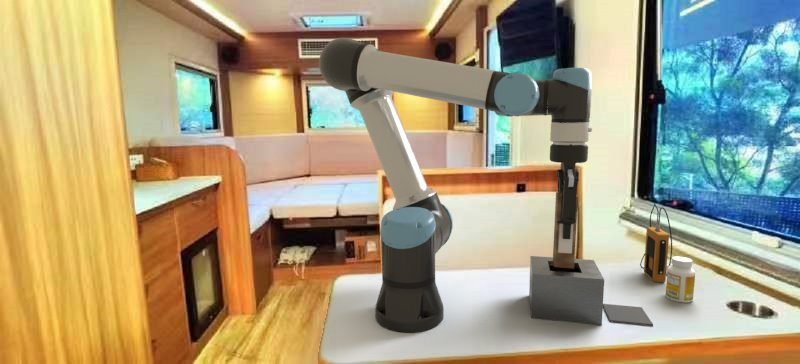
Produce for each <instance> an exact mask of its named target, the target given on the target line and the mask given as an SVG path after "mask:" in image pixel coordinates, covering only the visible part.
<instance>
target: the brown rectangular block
mask: <svg viewBox="0 0 800 364" xmlns="http://www.w3.org/2000/svg"><path fill="white" fill-rule="evenodd" d="M561 198H562V195H561V193H560V192H558V191H555V204H554V205H555V208H554V226H553V227H554V230H553V247H552V250H553V252H552V257H553V264H554V267H560V268H573V269H574V260H575V259H576V258H575V256H576V240H577V221H578V220H577V219H578V202H579V200H578V199H579V196H578V195H577V198H576V214H575V219H576V222H575V223H574V224H573V242H572V253H558V244H559V224H557V221H560V220H561Z"/></svg>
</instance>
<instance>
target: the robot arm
mask: <svg viewBox="0 0 800 364" xmlns="http://www.w3.org/2000/svg"><path fill="white" fill-rule="evenodd" d="M320 52H321V53H320V55H319V57H318V58H319V60H318V61H319V62H318V66H319V67H318V68H319V71H320V74H321V77H322V78H323V80H324V81H325V82H326V83H327V84H328V85H329V86H330V87H332V88H334V89H335V90H338V91H342V92H345V95H346V97H347V100H348V102H349V104H350V107H351V108H353V109H355V110H357V111H359V113H360V115H361V117H362V120H363V122H364V126H365V128H366V130H367V133H368V135H369V137H370V140H371V142H372V145H373V147H374V150H375V152H376V155H377V157H378V159H379V162H380V165H381V167H382V169H383V172H384V174H385V177H386V179H387V182H388V185H389V187H390V189H391V192H392V194H393V196H394V199H395V202H394V204H393V207H392V209H391V210H390V211H388V212H387V213H385V215H383V217H382V219H381V221H380V231H379V235H380V247H381V248H380V249H381V253H380V255H381V272H382V273H381V274H382V275H381V277H382V281H381V282H382V284H381V287H380V290H379V293H378V297H377V301H376V304H375V308H374V310H375V313H374V314H375V316H374V317H375V320H376V322H377V323H378V324H379V325H380V326H381V327H383V328H385V329H387V330H391V331H393V332H401V333H419V332H423V331H427V330H430V329H433V328H436V327H437V326H438V325H440V324H441V323H442V322H443V319H444V317H445V316H444V304H443V300H442V298H441V296H440V293H439V290H438V286H437V284H436V254H437V253H438V252H439V251H440V250H441V248H442V247H443V246H444V245H446V243H447V242H448V241H449V240H450V237H451V234H452V230H453V227H454V225H453V223H454V222H453V220H454V219H453V216H452V213H451V212H450V210H449V209H448V207H446V205H444V204H443V203H442V202H441V200H440V197H439V195H438V193H437V191H436V190H434V189H432V188H430V187H428V185H427V182H426V179H425V177H424V174H423V172H422V169H421V166H420V165H419V163H418V159H417V157H416V155H415V152H414V149H413V147H412V145H411V144H412V143H410V140H409V137H408V135H407V133H406V129H405V127H404V125H403V123H402V120H401V118H400V115H399V112H398V111H397V107H396V105H395V102H394V100H393V95H394V93H399V94H403V95H409V96H413V97H420V98H425V99H429V100H434V101H435V100H436V101H440V102H441V101H442V102H445V103H450V104H455V105H461V106H466V107H470V108H477V109H482V110H487V111H489V112H490V111H491V112H494V113H495V115H497V116H499V117H502V116H503V117H510V118H511V117H522V116H523V117H527V116H528V117H530V116H531V117H532V116H551V121H550V122H551V123H550V134H549V135H550V138H549V140H550V141H551V142H552V144H551V145H550V147H549V160H550V162H551V163H552V162H553V163H558V164H559V163H560V169H557V170H556V176H557V182H556V183H557V192H560V193H561V195H562V198H561V220H560V221H557V224H559V244H558V253H572V242H573V224H574V223H575V222H576V219H575V214H576V198H577V196H578V194H577V193H578V184H579V174H580V173H579V170H577V169H576V167H577V166H576V164H582V163H586V162H588V158H589V157H588V155H589V146H588V144H586V143H587V142H588V141H589V136H590V135H589V133H591V132H592V131H593V127H590V119H591V106H592V105H591V104H592V94H593V93H592V91H593V90H592V86H593V85H592V81H593V80H592V77H593V76H592V75H593V74H592V72H591V70H590V69H589V68H585V67H567V68H558V69H555V70H554V72H553V74H552V78H549V79H537V80H536V79H534V78H533V77H531V76H530V75H529V74H526V73H522V72H505V71H500V70H499V71H498V70H494V69H489V68H482V67H475V66H471V65H466V64H465V65H464V64H458V63H452V62H448V61H447V62H446V61H442V60H441V61H439V60H436V59H435V60H434V59H428V58H423V57H417V56H410V55H404V54H398V53H392V52H385V51H381V50H379V49H378V48H377V47H375V45H373V44H369V43H365V42H364V43H363V42H360V41H357V40H356V39H352V38H349V37H338V38H334V39H333V40H331V41H329V42H328V43H327V44H326V45H325V46H324V47H323V49H321V51H320Z"/></svg>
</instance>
